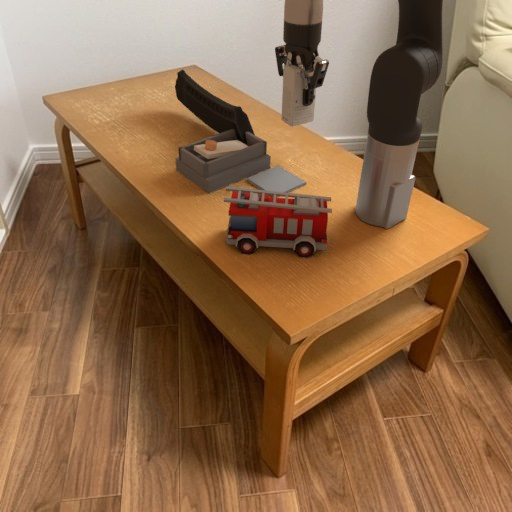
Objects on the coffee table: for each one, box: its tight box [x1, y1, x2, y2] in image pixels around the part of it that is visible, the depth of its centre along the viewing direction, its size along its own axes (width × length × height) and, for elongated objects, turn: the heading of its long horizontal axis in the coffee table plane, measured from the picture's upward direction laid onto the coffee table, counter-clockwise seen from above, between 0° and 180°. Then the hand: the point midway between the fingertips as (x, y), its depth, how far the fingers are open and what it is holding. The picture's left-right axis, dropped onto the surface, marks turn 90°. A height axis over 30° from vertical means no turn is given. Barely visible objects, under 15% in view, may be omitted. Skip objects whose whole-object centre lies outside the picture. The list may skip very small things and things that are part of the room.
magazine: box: [174, 69, 256, 145], centre depth 132 cm, size 17×3×30 cm
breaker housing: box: [174, 129, 272, 194], centre depth 121 cm, size 17×12×6 cm
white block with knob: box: [194, 140, 249, 159], centre depth 119 cm, size 12×5×2 cm, turn 130°
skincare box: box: [281, 64, 317, 127], centre depth 117 cm, size 6×4×12 cm
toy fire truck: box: [223, 185, 333, 258], centre depth 99 cm, size 9×19×10 cm, turn 86°
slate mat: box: [246, 165, 307, 198], centre depth 118 cm, size 9×9×1 cm
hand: (298, 101), depth 118 cm, fingers closed on skincare box, 4 cm apart
